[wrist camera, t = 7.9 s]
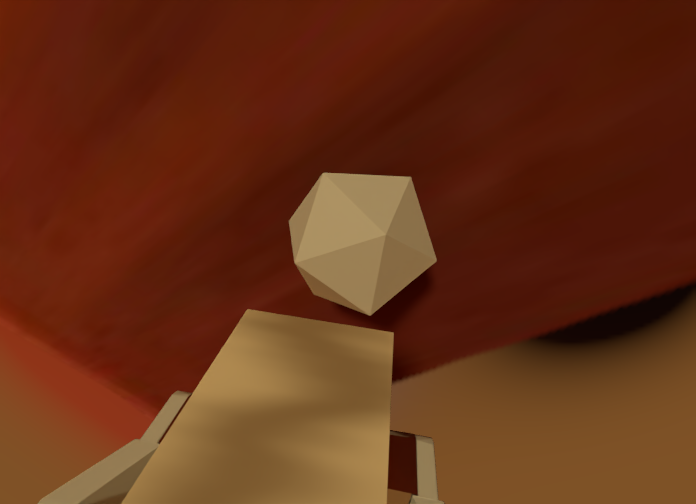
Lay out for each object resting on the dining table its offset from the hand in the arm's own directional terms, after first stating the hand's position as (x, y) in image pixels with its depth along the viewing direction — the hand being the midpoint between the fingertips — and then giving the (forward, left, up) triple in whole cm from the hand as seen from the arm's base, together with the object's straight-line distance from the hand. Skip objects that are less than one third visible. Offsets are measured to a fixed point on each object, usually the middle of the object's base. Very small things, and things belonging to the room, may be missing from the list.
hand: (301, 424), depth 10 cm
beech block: (0, 0, -2) cm, 2 cm away
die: (0, -1, -16) cm, 16 cm away
